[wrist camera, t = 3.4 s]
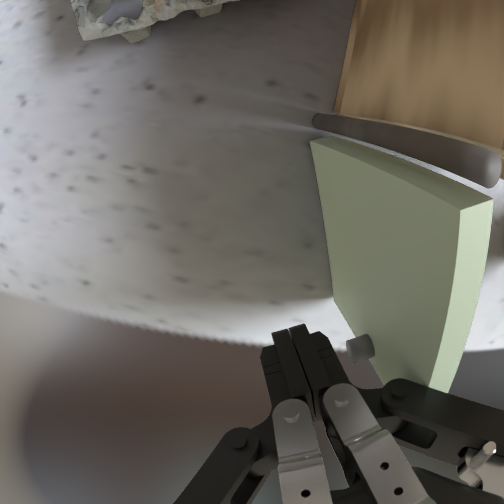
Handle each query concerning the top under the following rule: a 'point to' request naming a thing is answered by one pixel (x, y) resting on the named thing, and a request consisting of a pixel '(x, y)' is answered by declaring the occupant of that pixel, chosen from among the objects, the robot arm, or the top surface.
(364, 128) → the cupboard
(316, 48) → the top surface
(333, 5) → the top surface
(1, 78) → the top surface
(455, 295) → the door
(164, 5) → the egg carton
